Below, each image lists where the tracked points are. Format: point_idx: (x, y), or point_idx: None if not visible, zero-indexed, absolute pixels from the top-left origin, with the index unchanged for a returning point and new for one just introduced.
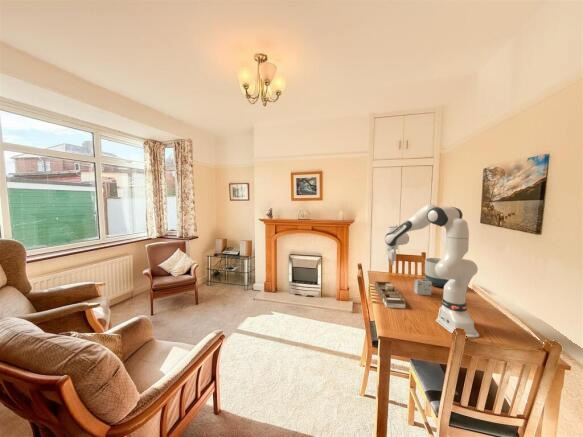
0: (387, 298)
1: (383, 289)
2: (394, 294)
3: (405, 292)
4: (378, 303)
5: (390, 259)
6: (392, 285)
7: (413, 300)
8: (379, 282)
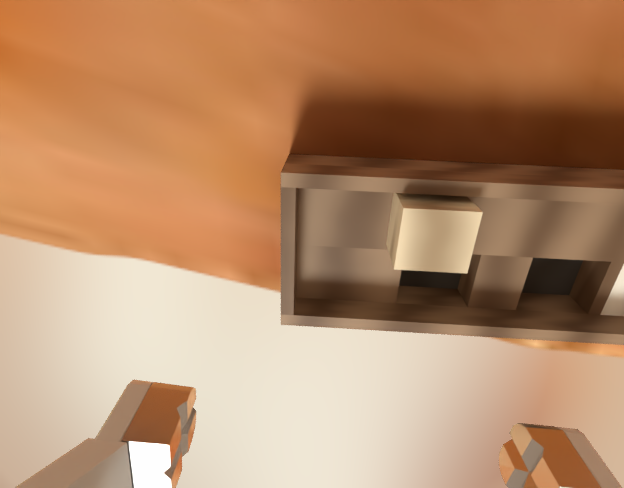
0: (617, 297)
1: None
2: (547, 209)
3: (397, 14)
4: None
5: (170, 455)
6: (459, 215)
7: (618, 9)
8: (294, 286)
